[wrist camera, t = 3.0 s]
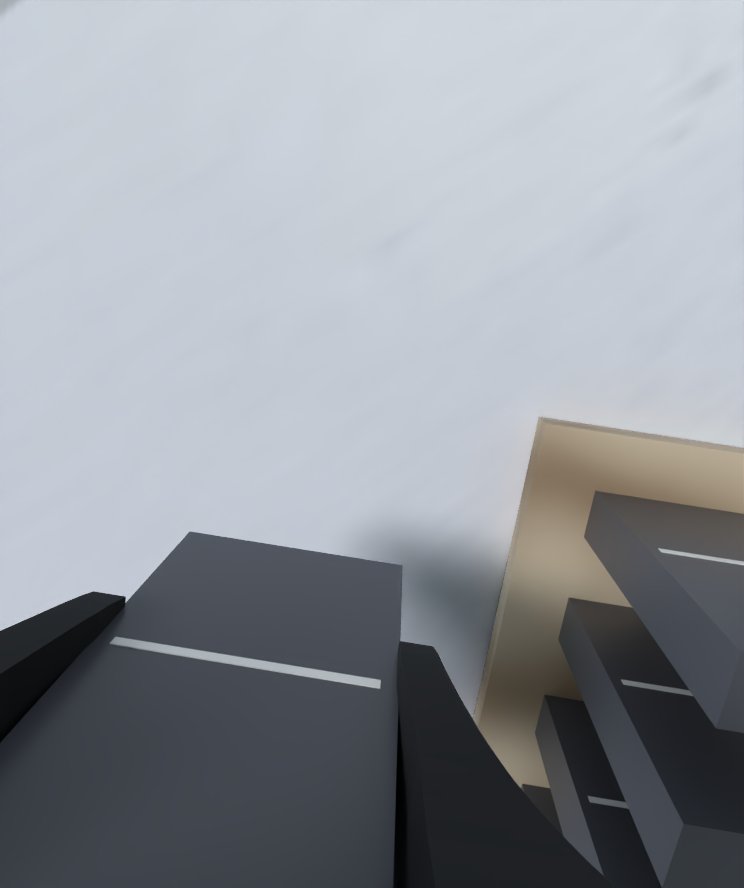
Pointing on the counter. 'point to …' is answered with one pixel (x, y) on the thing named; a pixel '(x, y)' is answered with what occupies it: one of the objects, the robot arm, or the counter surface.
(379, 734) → the domino
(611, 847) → the domino
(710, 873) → the domino
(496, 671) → the board
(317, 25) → the counter surface
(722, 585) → the domino
